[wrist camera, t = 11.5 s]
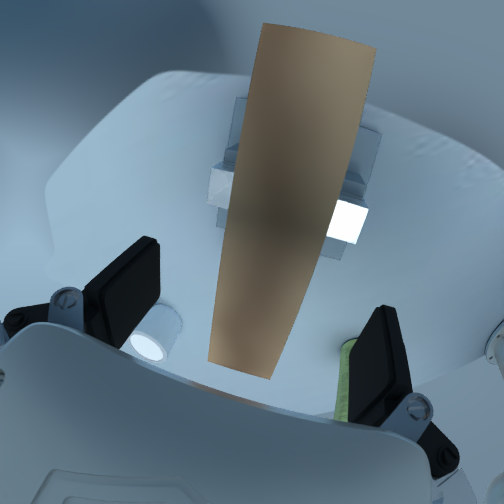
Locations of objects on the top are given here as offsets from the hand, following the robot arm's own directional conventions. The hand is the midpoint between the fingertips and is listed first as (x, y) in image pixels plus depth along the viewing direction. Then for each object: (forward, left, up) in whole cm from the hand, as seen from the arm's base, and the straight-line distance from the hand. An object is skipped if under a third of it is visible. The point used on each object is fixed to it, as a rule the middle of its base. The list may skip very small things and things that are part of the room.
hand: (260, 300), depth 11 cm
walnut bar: (0, 0, -11) cm, 11 cm away
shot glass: (+14, +26, -20) cm, 35 cm away
